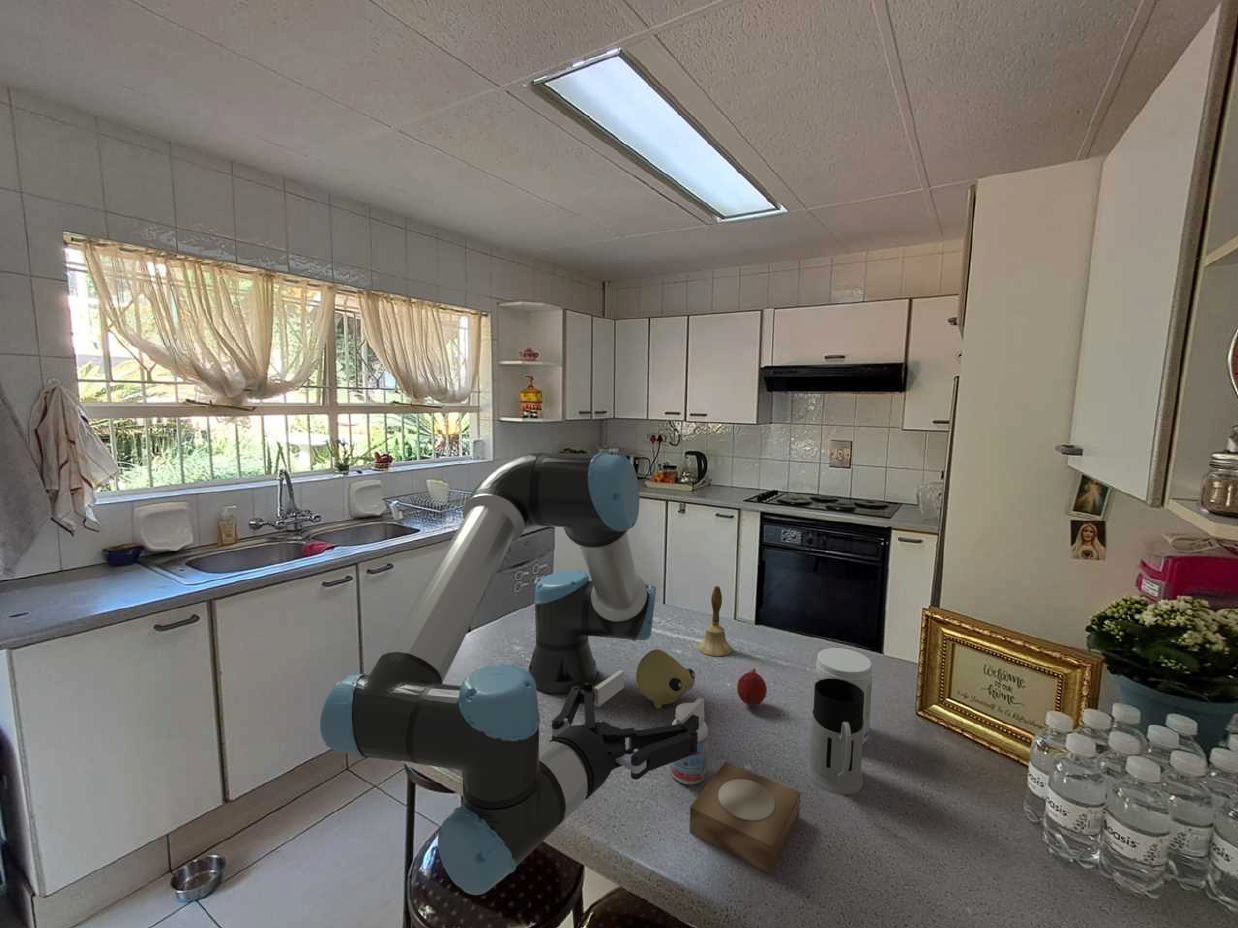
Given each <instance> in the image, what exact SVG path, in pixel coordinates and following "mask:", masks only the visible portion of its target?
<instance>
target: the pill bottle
mask: <svg viewBox="0 0 1238 928" xmlns="http://www.w3.org/2000/svg"><path fill="white" fill-rule="evenodd" d="M693 703H694V702H683V703H680V704H678V705H677V706H676V708H675V719H674V720H673V721H672V724H671V725H675V724H676V719H677V718H678V717H679V716H680V715H681V714H682V713H683V712H684V711H685V710H687V709H688V708H689V707H690V706H691V705H692V704H693ZM708 728H709V727H708V725H707V723H706V722H705V716H704V717H703V718H702V719H701V720H700V721H699V729H698V730H697V731H696V732H697V733H698V746H697V753H696V754H694V755H691V756H688V757H686V758H683V759H680V760H678V761H675V762H672V763H670V764H669V766H670V767H669V768H670V769H669V770H670V774H671V776H672V777H673V779H674V780H675V781H677V782H679V783H682V784H684V785H697V784H699V783H701V782H703V781H704V780H705V778H706V777H707V771H708V770H707V767H708V766H707V765H708V745H709V744H708V740H709V729H708Z"/></svg>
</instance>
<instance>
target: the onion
mask: <svg viewBox="0 0 1238 928" xmlns="http://www.w3.org/2000/svg"><path fill="white" fill-rule="evenodd" d="M756 670H757V669H756V668H755V667H751V668H750V669H749V671H748V672H746V673H744V674H743V675H741V676H740V678H739V679H738V681H737V685H736V686H737V687H736V689H737V694H738V696H739V699H740V700H741V701H742V702H743V703H744V704H745V705H747V706H749V707H751V708H753V707H756V706H758V705H760V704H761V703H763V701H764V700H765V698H766V697H767V690H768V689H767V688H768V687H767V684H766V682H765V680H764V679H763V677H762V676H761V675H760V674H758V672H757V671H756Z"/></svg>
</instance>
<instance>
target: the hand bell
mask: <svg viewBox="0 0 1238 928" xmlns="http://www.w3.org/2000/svg"><path fill="white" fill-rule="evenodd" d="M710 598H711V599H710V600H711V607H712V621H711V624H710V625H707V626H706V629H705V635H704V637H703V639H702V641H701V642H699V644H698V645H697V649H698V651H699V652H700V653H702V654H703V655H706V656H711V657H726V656H728V655H730V654H731V653H732V652H733V648H732V646H731V645H730V644H729V643H728V641H727V639H726V634H725V633H726V631H725V628H724V626H722V625H720V611H721V607H722V604H723V603H722V602H723V594H722V592H721V587H720V586H718V585H717V586H714V588H713V591H712V594H711V597H710Z"/></svg>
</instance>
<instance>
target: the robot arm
mask: <svg viewBox="0 0 1238 928" xmlns="http://www.w3.org/2000/svg"><path fill="white" fill-rule="evenodd" d="M639 511H640V492H639V481H638V476H637V473H636V469H635V467H634V465H633V463H632V462H631V460H629V458H627V457H626V456H624V455H619V454H618V455H617V454H609V453H605V452H604V453H603V452H601V453H568V452H567V453H563V452H561V453H560V452H559V453H557V452H555V453H554V452H553V453H552V452H551V453H549V452H548V453H547V452H531V453H526V454H522V455H520V456H517V457H515V458H513V459H511V460H509V461H507V462H505V463H503V464H502V465H500V466H499V467H498V468H496V469H494V470H493V471H492V472H491V473H490V474H489V475H487V476H486V477H485V478H484V479H483V480H481V482H480V483H479V484H478V485H477V486H476V487H475V489H474V490H473V491H472V492H471V494H470V495H469V497H468V499H467V500H466V502H465V504H464V505H463V507H462V518H463V520H462V522H461V523H460V525H459V527H458V528H457V530H456V532H455V533H454V535H453V537H452V538H451V540H450V542H449V543H448V545H447V547H445V548H446V549H445V550H444V552H443V554H442V555H441V556H440V558H439V560H438V562H437V563H436V565H435V566H434V568H433V570H432V571H431V573H430V575H429V576H428V578H427V580H426V581H425V583H424V585H423V586H422V588H421V590H420V591H419V593H418V594H417V596H416V598H415V600H414V601H413V603H412V604H411V606H410V608H409V609H408V611H407V613H406V614H405V616H404V617H403V620H402V621H401V623H400V625H399V627H398V628H397V629H396V631H395V633H394V634H393V636H392V637H391V639H390V641H389V642H388V644H387V646H386V648H385V649H384V650H383V653H382V655H380V657H379V658H378V660H377V662H376V663H375V665H374V666H373V668H372V670H371V672H369V674H367V673H360V674H350V675H346V676H345V677H343V679H342V680H341V681H340V682H337V683H336V684H335V685H334V686H333V687H332V689H331V690H330V692H329V693H328V694H327V695H326V696H327V697H326V699H325V701H324V703H323V706H322V709H321V713H320V721H319V730H320V736H321V738H322V740H323V742H324V743H325V746H326V747H328V748H330V749H331V750H333V751H336V752H339V753H344V754H348V755H353V756H356V757H361V758H362V759H369V758H371V759H372V758H373V759H381V760H390V761H397V762H405V763H411V764H416V765H417V764H418V765H423V766H428V767H429V766H430V767H435V768H443V769H448V770H455V771H457V770H458V771H461V777H462V799H463V801H462V802H463V803H462V804H461V806H459V807H456V808H454V810H453V812H452V813H451V814H450V815H449V816H447V817H446V818H445V819H444V820H443V822H442V824H441V826H440V829H439V831H438V833H437V847H438V848H437V849H438V853H439V857H440V861H441V863H442V865H443V867H444V870H445V871H446V873H447V874H448V877H449V878H450V879H451V882H453V883H454V884H455V885H456V886H457V887H458V888H460V889H461V890H462V891H463V892H464V893H467V894H468V895H473V896H479V895H483V894H485V893H487V892H489V891H490V890H491V889H492V888H493V887H494V886H496V885H497V884H498V883H499V882H501V881H502V880H503V879H505V877H507V876H508V875H510V874H512V873H513V872H514V871H516V869H517V867H518V866H519V865H520V864H521V863H522V862H523V861H524V860H525V859H526V858H527V857H528V856H529V855H530V854H531V853H533V851H534V850H535V849H536V848H537V847H538V846H540V845H541V843H543V842H544V841H545V840H546V839H547V838H548V837H549V835H551V834H552V833H553V832H554V831H555V830H556V829H557V828H558V827H559V826H560V825H562V823H564V821H565V820H566V819H568V818H569V817H570V816H571V815H572V814H573V813H574V812H575V811H576V810H577V809H578V808H579V807H580V806H581V805H582V804H583V803H584V802H585V801H586V800H587V799H589V798H590V797H591V796H593V794H594V793H595V792H597V790H599V788H600V787H602V786H603V785H604V783H606V781H607V779H608V778H609V776H610V774H611V773H612V771H613V770H615V769H618V768H621V767H624V768H626V769H628V770H629V771H630V777H631V779H632V780H639V779H641V778H642V777H644V776H645V775H646V774H647V773H649V772H651V771H654V770H656V769H658V768H663V767H664V766H667V765H670V763H672V762H675V761H678V760H680V759H683V758H686V757H688V756H691V755H694V754H696V753H697V746H698V733H697V732H696V731H697V730H698V729H699V721H700V720H701V719H702V718H703V717H704V718H705V710H704V708H705V699H704V698H702V697H698V698H697V699H695V701H694V702H692V703H693V704H692V705H691V706H690V707H689V708H688V709H687V710H685V711H684V712H683V713H682V714H681V715H680V716H679V717H678V718H677V719H676V718H675V719H676V724H675V725H672V724H669V725H663V726H657V727H651V728H650V727H649V728H644V729H642V728H641V729H637V730H636V729H635V728H634V727H625V728H620V727H618V726H614V725H611V724H610V723H609V722H606V721H605V720H602V721H596V714H595V707H598V708H599V707H601V706H602V705H603V704H604V703H606V702H607V701H608V700H610V699H612V697H613V696H615V695H616V694H618V693H619V692H620V691H621V690H623V689H624V685H625V684H624V683H625V678H624V677H625V676H624V675H625V670H621V669H619V670H617V671H616V672H615V673H614V674H612V675H611V676H609V677H607V678H606V679H605V680H602V681H599V682H597V683H596V684H594V685H593V683H594V682H595V680H596V679H597V662H596V660H595V659H594V657H593V653H592V649H591V646H590V644H589V637H597V638H600V637H601V638H608V639H609V638H610V639H618V640H629V641H633V642H636V641H647V640H649V639H650V638H651V636H652V630H653V629H652V628H653V619H654V610H655V602H656V595H657V594H656V593H657V588H656V586H655V585H653V584H649V583H645V581H644V580H643V579H642V577H641V576H640V575H639V574H637V573H636V569H635V564H634V561H633V555H632V550H631V547H630V542H629V537H628V533H627V532H628V531H629V530H630V529H632V528H634V527H635V525H636V524H637V521H638V517H639V513H640V512H639ZM533 526H540V527H554V528H555V527H556V528H563V530H564V532H565V534H566V536H567V538H568V539H569V540H570V541H571V542H572V543H573V544H575V545H577V546H579V548H580V551H581V553H582V556H583V558H584V562H585V564H586V565H585V566H586V568H587V570H588V573H589V575H588V573H587V572H586V571H582V570H577V569H576V570H575V569H573V570H563V571H557V572H554V573H550V574H549V575H546V576H544V577H542V578H541V579H540V580H538V582H537V583H536V585H535V592H534V593H535V595H534V596H535V597H534V602H533V603H534V616H535V617H534V618H535V624H534V625H535V645H534V650H533V653H532V655H531V659H530V662H529V666H528V670H526V669H525V668H523V667H520V666H517V665H514V664H508V663H507V664H506V663H505V664H503V663H502V664H500V665H496V666H492V665H486V666H484V667H481V668H478V669H476V670H474V671H472V672H470V673H469V674H468V675H467V676H465V678H464V679H463V681H462V683H461V684H460V685H454V684H445V683H444V681H445V679H446V677H447V675H448V673H449V670H450V668H451V666H452V665H453V662H454V660H455V658H456V656H457V655H458V652H459V650H460V648H461V645H462V644H463V642H464V640H465V637H466V635H467V634H468V631H469V629H470V627H471V625H472V623H473V621H474V619H475V617H476V616H477V613H478V611H479V608H480V607H481V606H482V605H481V604H482V603H483V600H484V598H485V596H486V595H487V592H488V590H489V588H490V586H491V584H492V582H493V579H494V578H495V576H496V573H497V571H498V570H499V567H500V565H501V564H502V561H503V559H504V557H505V555H506V553H507V551H508V549H509V547H510V545H511V543H513V542H516V541H517V540H519V539H520V538H521V537H522V535H523V533H524V531H525V530H526V528H528V527H533ZM590 579H591V580H590ZM537 691H541V692H544V693H548V694H557V695H559V694H560V695H562V694H568V695H567V697H566V699H565V702H564V704H563V706H562V708H561V710H560V712H559V714H558V715H557V716H556V717H554V718H553V719H552V721H551V740H549V741H547V742H546V743H544V744H543V745H541V747H540V722H541V718H540V716H541V715H540V710H539V705H538V704H539V703H538V692H537ZM580 704H583V706H584V707H583V709H584V710H583V711H584V724H573V722H574V720H575V717H576V715H577V712H578V709H579V707H580ZM572 724H573V725H572ZM626 739H628V748H627V749H626V746H627V745H626Z"/></svg>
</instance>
